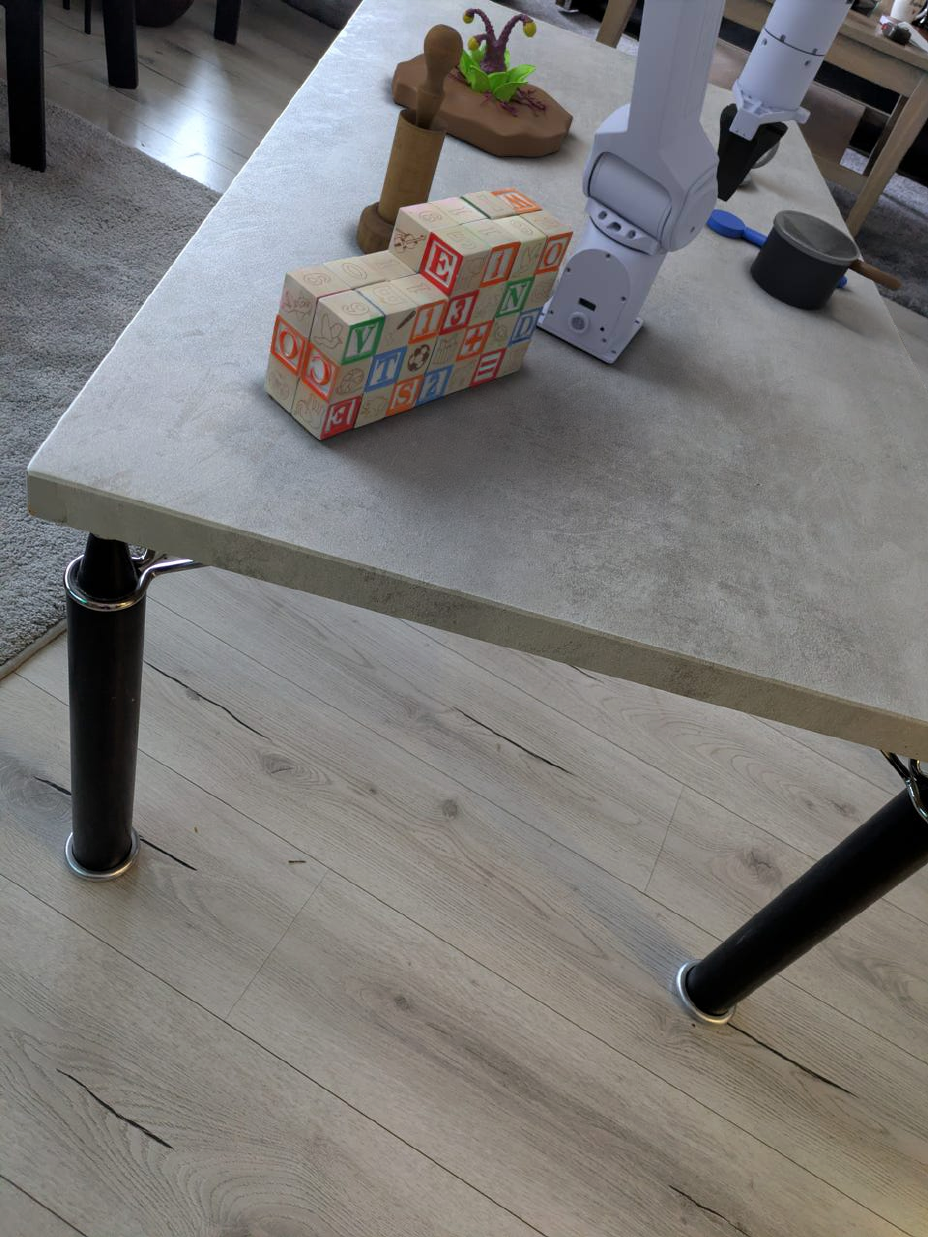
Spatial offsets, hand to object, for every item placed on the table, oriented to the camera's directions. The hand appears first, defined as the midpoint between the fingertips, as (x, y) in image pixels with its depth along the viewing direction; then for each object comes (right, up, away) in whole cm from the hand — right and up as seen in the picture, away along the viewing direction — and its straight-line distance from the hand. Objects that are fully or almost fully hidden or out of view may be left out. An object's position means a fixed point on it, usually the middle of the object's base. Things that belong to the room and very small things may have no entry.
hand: (718, 195), depth 92 cm
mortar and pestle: (-30, -7, -5) cm, 31 cm away
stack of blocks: (-28, -22, -18) cm, 40 cm away
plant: (-22, +18, +22) cm, 36 cm away
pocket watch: (+10, +17, +33) cm, 38 cm away
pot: (+14, -5, +15) cm, 21 cm away
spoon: (+12, +2, +20) cm, 23 cm away
